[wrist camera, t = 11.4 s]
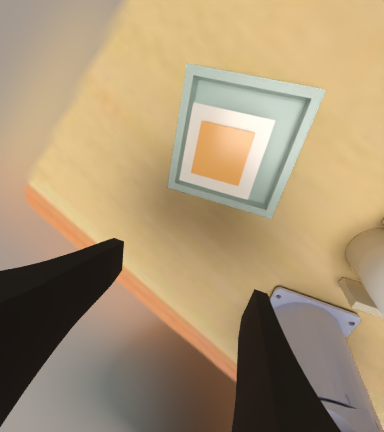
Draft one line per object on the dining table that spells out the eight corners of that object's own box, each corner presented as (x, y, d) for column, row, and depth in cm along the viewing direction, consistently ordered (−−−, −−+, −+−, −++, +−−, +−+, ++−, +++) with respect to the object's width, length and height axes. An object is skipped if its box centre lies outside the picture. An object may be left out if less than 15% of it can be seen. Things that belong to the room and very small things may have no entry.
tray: (269, 210, 19) (271, 219, 17) (175, 182, 20) (167, 187, 18) (318, 94, 15) (326, 89, 13) (194, 70, 16) (187, 63, 14)
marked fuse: (251, 173, 17) (247, 202, 11) (206, 161, 18) (176, 181, 12) (268, 122, 16) (276, 120, 9) (217, 111, 16) (190, 101, 10)
